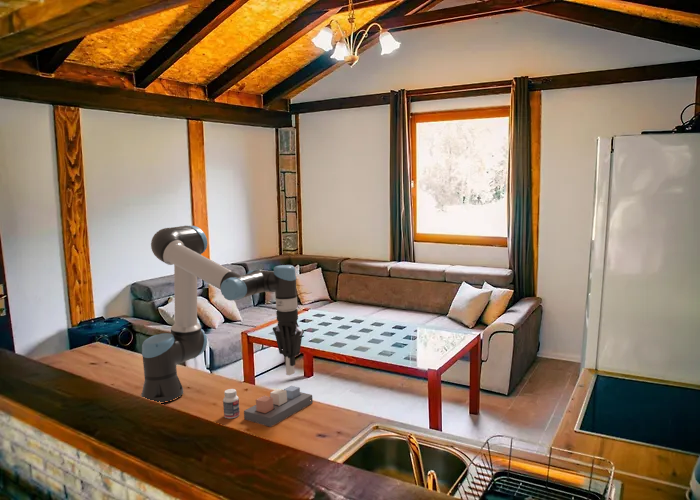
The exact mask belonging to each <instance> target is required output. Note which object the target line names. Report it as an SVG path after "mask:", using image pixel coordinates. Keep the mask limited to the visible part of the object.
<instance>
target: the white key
mask: <svg viewBox="0 0 700 500" xmlns="http://www.w3.org/2000/svg"><path fill="white" fill-rule="evenodd" d="M269 397H272V398H273V404H274V405H278V406H280V405H282V404H284V403H286V402H287V391H286V390H284V389H281V388H276V389H274V390H272V391H270V396H269Z"/></svg>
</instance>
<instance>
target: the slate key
mask: <svg viewBox="0 0 700 500" xmlns="http://www.w3.org/2000/svg"><path fill="white" fill-rule="evenodd" d="M300 389H301V388H300V387H299V386H295V385H290V386H287V387H285V388H284V389H283V390H286V391H287V398H289V399H295V398H297V397H298V396H300V392H301V390H300Z"/></svg>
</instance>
